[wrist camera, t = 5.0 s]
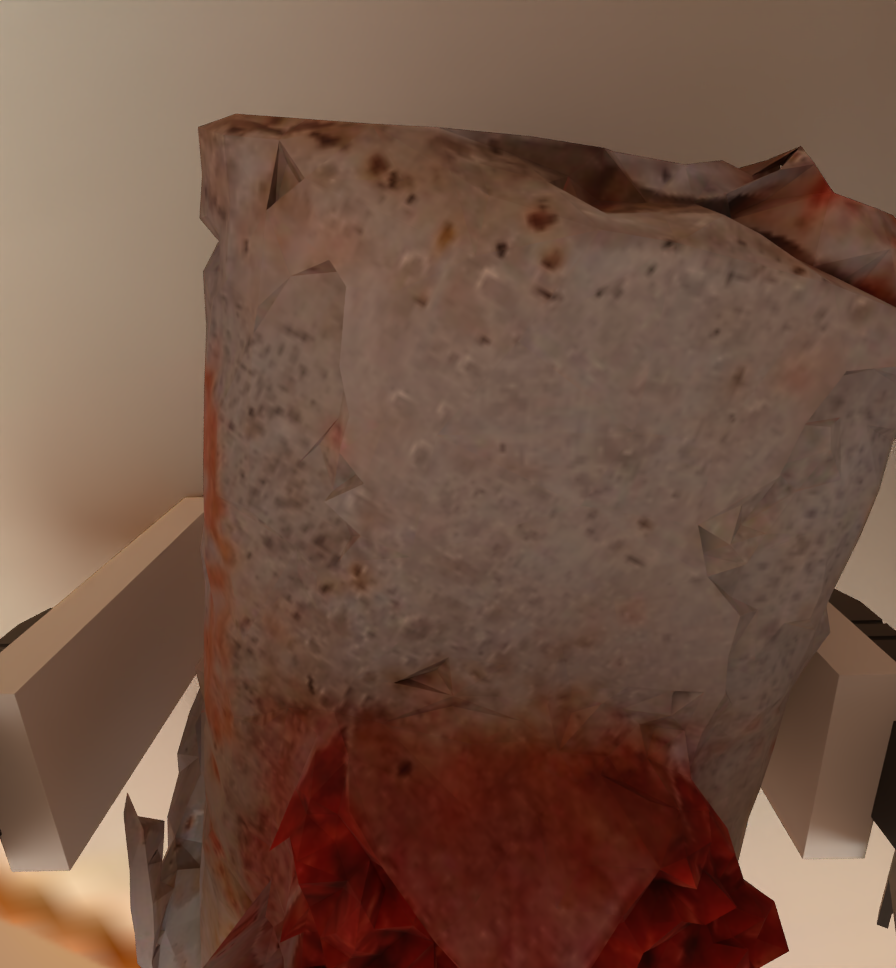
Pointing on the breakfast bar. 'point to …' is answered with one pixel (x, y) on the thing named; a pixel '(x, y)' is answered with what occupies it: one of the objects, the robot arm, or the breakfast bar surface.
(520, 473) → the food item
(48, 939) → the breakfast bar surface
